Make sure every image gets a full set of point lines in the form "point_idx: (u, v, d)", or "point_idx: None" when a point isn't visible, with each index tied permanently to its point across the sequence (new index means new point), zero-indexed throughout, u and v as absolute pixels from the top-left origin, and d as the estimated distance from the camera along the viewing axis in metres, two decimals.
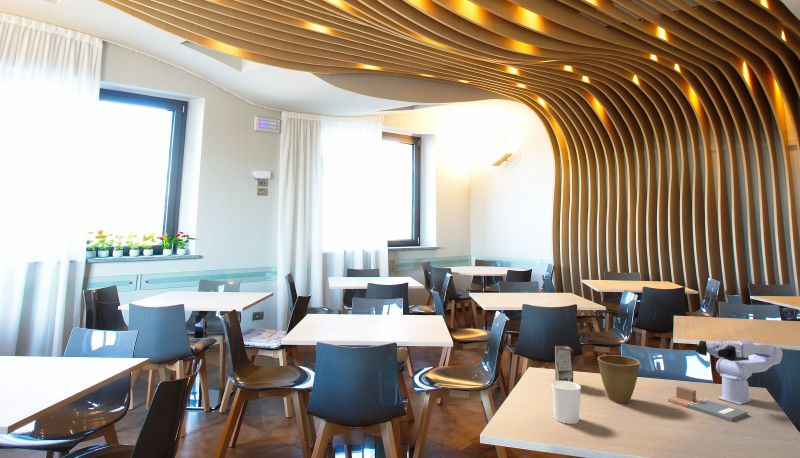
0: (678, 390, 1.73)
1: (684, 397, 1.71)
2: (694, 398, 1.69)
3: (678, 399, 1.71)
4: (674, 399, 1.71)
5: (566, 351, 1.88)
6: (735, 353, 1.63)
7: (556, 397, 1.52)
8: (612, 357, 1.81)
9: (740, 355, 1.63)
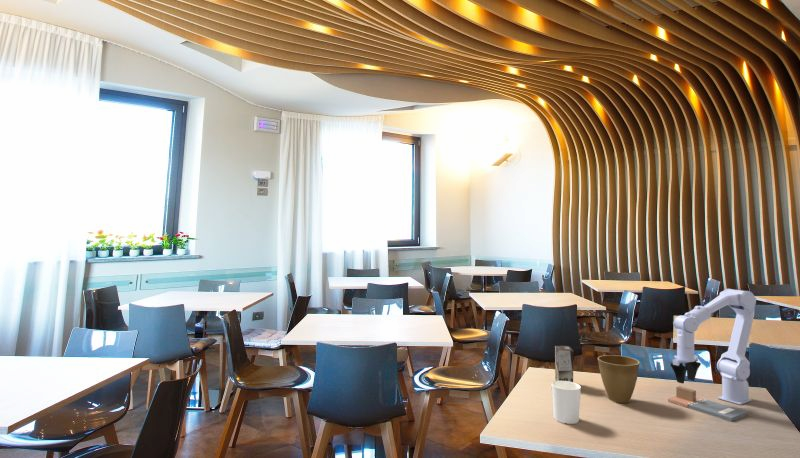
0: (678, 390, 1.73)
1: (684, 397, 1.71)
2: (694, 398, 1.69)
3: (678, 399, 1.71)
4: (674, 399, 1.71)
5: (566, 351, 1.87)
6: (676, 365, 1.69)
7: (556, 397, 1.52)
8: (612, 357, 1.81)
9: (676, 363, 1.68)
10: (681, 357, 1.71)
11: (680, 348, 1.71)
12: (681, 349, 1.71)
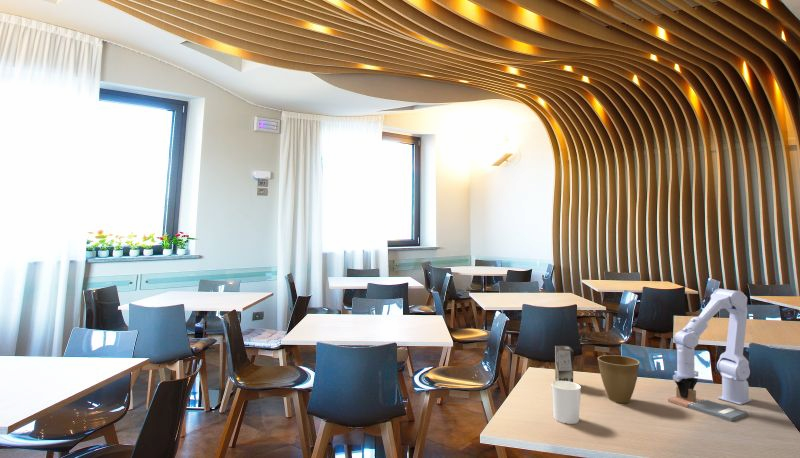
0: (678, 390, 1.73)
1: None
2: (694, 398, 1.69)
3: (678, 399, 1.71)
4: (674, 399, 1.71)
5: (566, 351, 1.87)
6: (679, 380, 1.70)
7: (556, 397, 1.52)
8: (612, 357, 1.81)
9: (676, 379, 1.68)
10: (681, 373, 1.71)
11: (680, 364, 1.71)
12: (681, 364, 1.71)
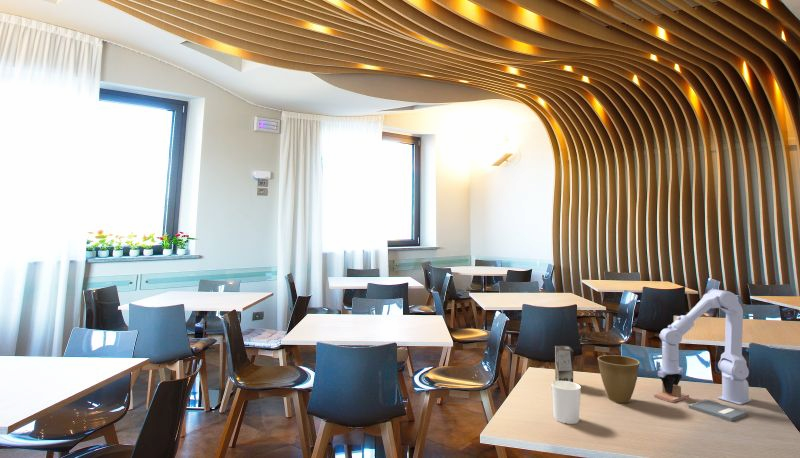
0: None
1: None
2: (679, 394, 1.74)
3: (664, 395, 1.76)
4: (660, 395, 1.76)
5: (566, 351, 1.88)
6: (664, 376, 1.75)
7: (556, 397, 1.52)
8: (612, 357, 1.81)
9: (661, 374, 1.73)
10: (666, 369, 1.76)
11: (665, 360, 1.76)
12: (666, 361, 1.76)
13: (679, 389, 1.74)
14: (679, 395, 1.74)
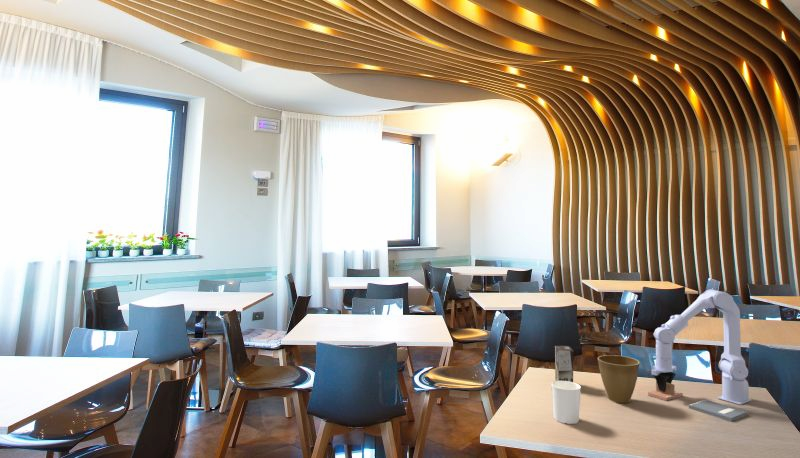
0: None
1: None
2: (673, 392, 1.76)
3: (657, 393, 1.78)
4: (654, 393, 1.78)
5: (566, 351, 1.88)
6: (658, 374, 1.78)
7: (556, 397, 1.52)
8: (612, 357, 1.81)
9: (654, 373, 1.76)
10: (659, 367, 1.78)
11: (658, 359, 1.79)
12: (660, 359, 1.78)
13: (672, 387, 1.76)
14: (672, 393, 1.76)
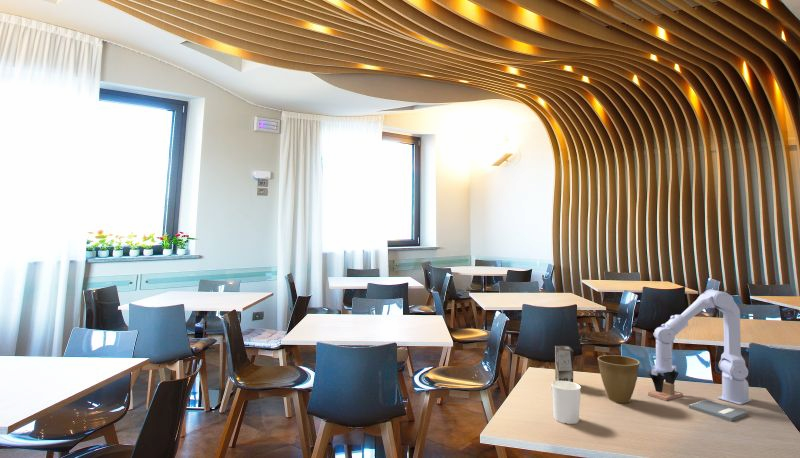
0: None
1: (663, 391, 1.78)
2: (673, 392, 1.76)
3: (657, 393, 1.78)
4: (654, 393, 1.78)
5: (566, 351, 1.88)
6: (654, 375, 1.77)
7: (556, 397, 1.52)
8: (612, 357, 1.81)
9: (654, 373, 1.76)
10: (659, 367, 1.78)
11: (658, 358, 1.79)
12: (660, 359, 1.78)
13: (672, 387, 1.76)
14: (672, 393, 1.76)
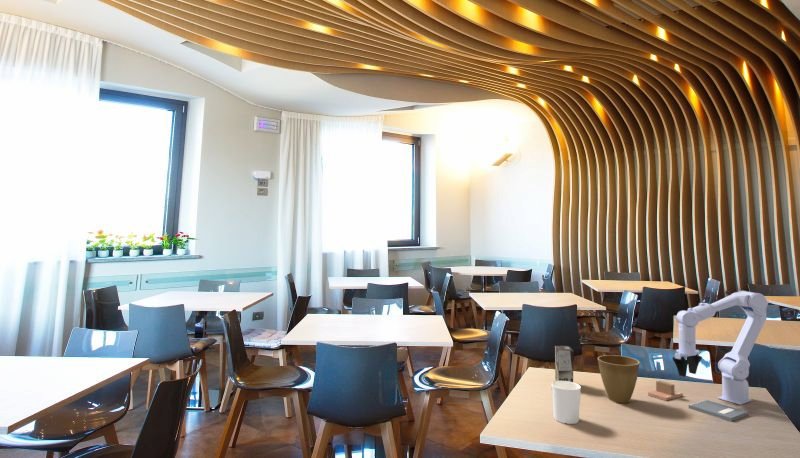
0: (658, 384, 1.80)
1: (663, 391, 1.78)
2: (673, 392, 1.76)
3: (657, 393, 1.78)
4: (654, 393, 1.78)
5: (566, 351, 1.88)
6: (678, 359, 1.74)
7: (556, 397, 1.52)
8: (612, 357, 1.81)
9: (678, 356, 1.73)
10: (683, 351, 1.75)
11: (682, 342, 1.76)
12: (683, 343, 1.75)
13: (672, 387, 1.76)
14: (672, 393, 1.76)
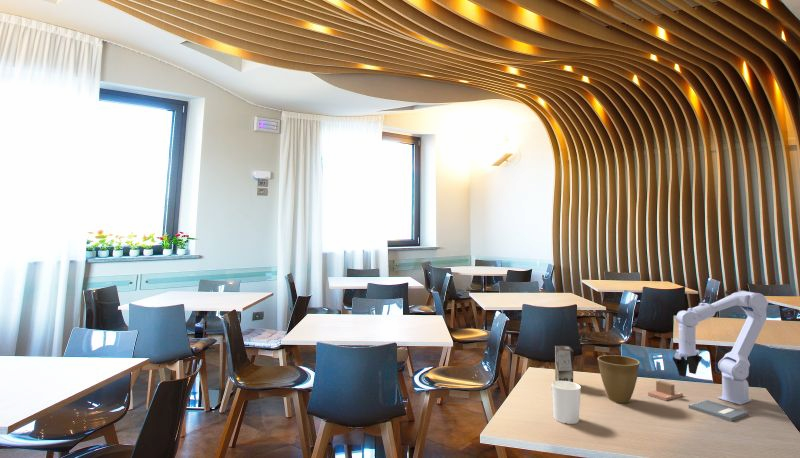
0: (658, 384, 1.80)
1: (663, 391, 1.78)
2: (673, 392, 1.76)
3: (657, 393, 1.78)
4: (654, 393, 1.78)
5: (566, 351, 1.88)
6: (678, 359, 1.74)
7: (556, 397, 1.52)
8: (612, 357, 1.81)
9: (678, 356, 1.73)
10: (683, 351, 1.75)
11: (682, 342, 1.76)
12: (683, 343, 1.75)
13: (672, 387, 1.76)
14: (672, 393, 1.76)
